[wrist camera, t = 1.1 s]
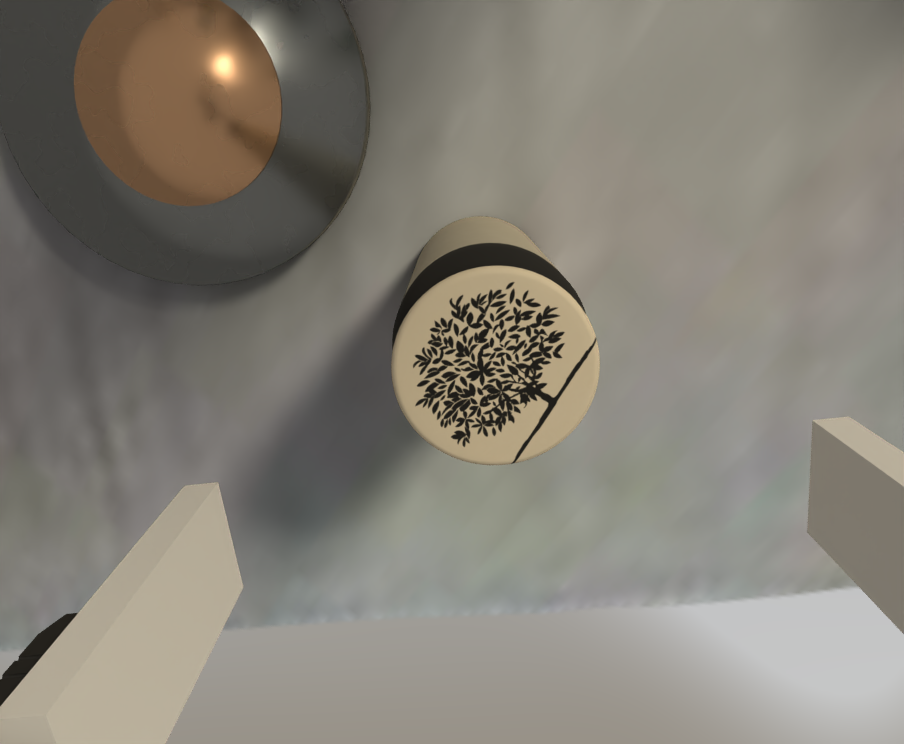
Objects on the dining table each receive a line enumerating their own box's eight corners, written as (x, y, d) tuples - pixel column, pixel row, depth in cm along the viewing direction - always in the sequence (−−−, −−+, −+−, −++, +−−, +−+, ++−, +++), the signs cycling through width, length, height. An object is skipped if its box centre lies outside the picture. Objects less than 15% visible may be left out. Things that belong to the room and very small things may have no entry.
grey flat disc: (338, -128, 35) (330, -147, 33) (393, 259, 41) (390, 265, 39) (-35, -75, 36) (-68, -91, 33) (72, 296, 42) (51, 304, 39)
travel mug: (388, 292, 41) (339, 388, 24) (469, 187, 39) (480, 210, 22) (488, 369, 43) (509, 511, 26) (571, 272, 41) (654, 355, 24)
